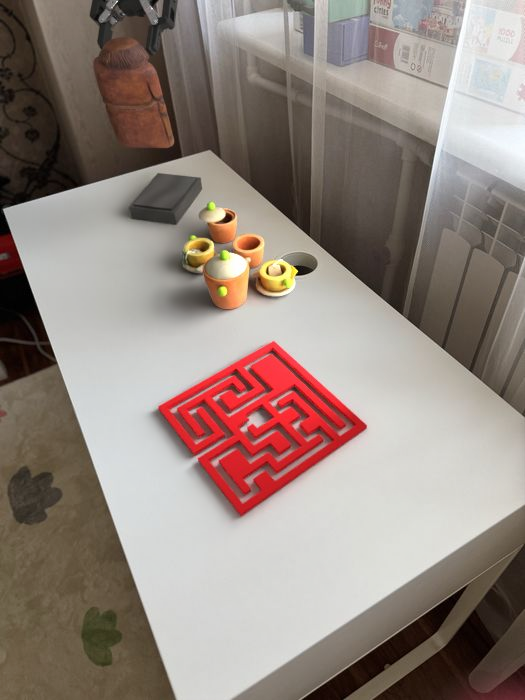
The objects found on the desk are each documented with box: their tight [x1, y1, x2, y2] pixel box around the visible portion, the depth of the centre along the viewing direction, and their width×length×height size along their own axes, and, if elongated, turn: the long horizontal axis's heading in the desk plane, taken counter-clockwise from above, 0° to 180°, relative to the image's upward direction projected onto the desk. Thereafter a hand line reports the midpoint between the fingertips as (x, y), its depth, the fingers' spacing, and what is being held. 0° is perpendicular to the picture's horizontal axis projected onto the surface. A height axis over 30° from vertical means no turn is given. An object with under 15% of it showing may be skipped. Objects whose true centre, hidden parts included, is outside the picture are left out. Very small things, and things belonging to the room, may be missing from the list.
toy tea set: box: [181, 201, 299, 310], centre depth 92 cm, size 26×16×10 cm, turn 31°
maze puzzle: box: [157, 340, 368, 517], centre depth 72 cm, size 20×20×1 cm
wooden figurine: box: [92, 36, 175, 149], centre depth 92 cm, size 12×6×18 cm, turn 81°
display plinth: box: [128, 172, 203, 226], centre depth 110 cm, size 10×14×3 cm
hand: (127, 51), depth 87 cm, fingers closed on wooden figurine, 8 cm apart
